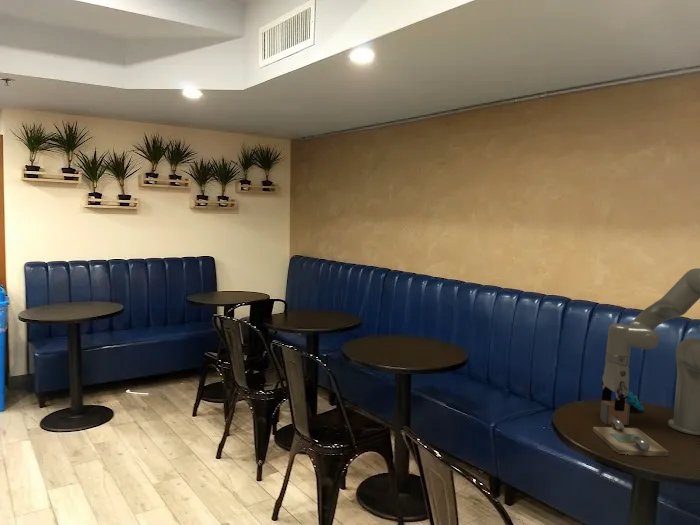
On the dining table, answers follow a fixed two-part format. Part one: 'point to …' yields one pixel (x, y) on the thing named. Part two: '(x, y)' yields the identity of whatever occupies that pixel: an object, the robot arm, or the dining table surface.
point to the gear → (634, 401)
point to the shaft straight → (641, 443)
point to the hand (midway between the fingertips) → (612, 405)
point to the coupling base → (628, 441)
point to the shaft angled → (617, 423)
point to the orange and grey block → (614, 412)
